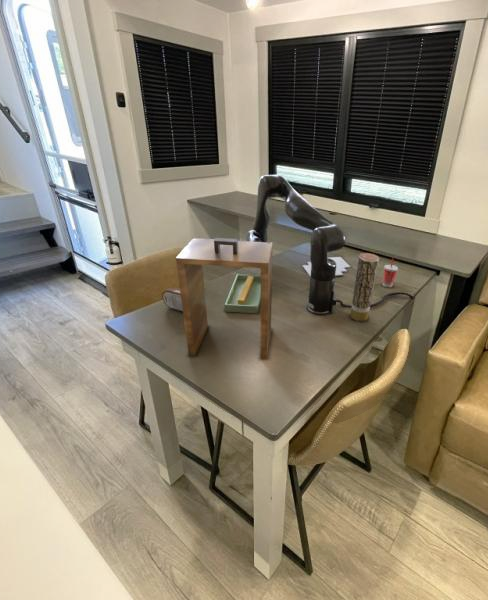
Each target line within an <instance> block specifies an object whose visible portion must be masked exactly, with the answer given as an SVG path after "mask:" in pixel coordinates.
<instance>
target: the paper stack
mask: <svg viewBox="0 0 488 600" xmlns="http://www.w3.org/2000/svg"><path fill="white" fill-rule="evenodd" d="M328 258H329V259H332V260H334V261H335V262H336V273H335V276H343V275H344V273H343V272H348V270H347V269H346V268H351V265H350V264H349V263H348V262H347V261H346V260H344V259H343V258H342V256H332V257H328ZM306 263H307V264H303V265H302V267H303V269H304V270H305V271H306V274H308V276H309V277H310V276H311V261H307V262H306Z"/></svg>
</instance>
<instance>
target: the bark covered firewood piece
mask: <svg viewBox="0 0 488 600" xmlns="http://www.w3.org/2000/svg"><path fill="white" fill-rule="evenodd" d="M379 261H380V257H379V255H377V254H374V253H370V252H363V253H360V254H359V257H358V263H357V268H356V269H357V270H356V274H355V282H354V288H353V295H352V302H351V306H352V307H350V308H351V309H350V314H349V315H350V318H351V319H352V320H354V321H357V322H365V321H366V320H368V318H369V314H370V310H371V309H370V308H371V307H370V305H371V304H372V299H373V293H374V287H375V282H376V277H377V273H378V266H379Z"/></svg>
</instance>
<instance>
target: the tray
mask: <svg viewBox="0 0 488 600" xmlns="http://www.w3.org/2000/svg"><path fill="white" fill-rule="evenodd" d="M248 276H254V282H253V284H252V287H251V289H250V292H249V294H248V297H247V299H246V302H245V305H238V298H239V296H240V294H241V292H242V289H243V287H244V285H245V282H246V280H247V278H248ZM260 305H261V274H260V275H258V274H241V273H240V274H239V273H236V275H235V278H234V280H233V283H232V285H231V288H230V290H229V293H228V295H227V298H226V300H225V303H224V312H225V313H243V314H244V313H245V314H247V313H248V314H258V312H259V308H260Z"/></svg>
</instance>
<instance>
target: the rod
mask: <svg viewBox="0 0 488 600" xmlns="http://www.w3.org/2000/svg"><path fill="white" fill-rule="evenodd" d="M253 282H254V276H248V278H247V280H246V282H245V285H244V287H243V289H242V292H241V294H240V296H239V298H238V305H245V302H246V299H247V297H248V294H249V292H250V289H251V287H252V284H253Z"/></svg>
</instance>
